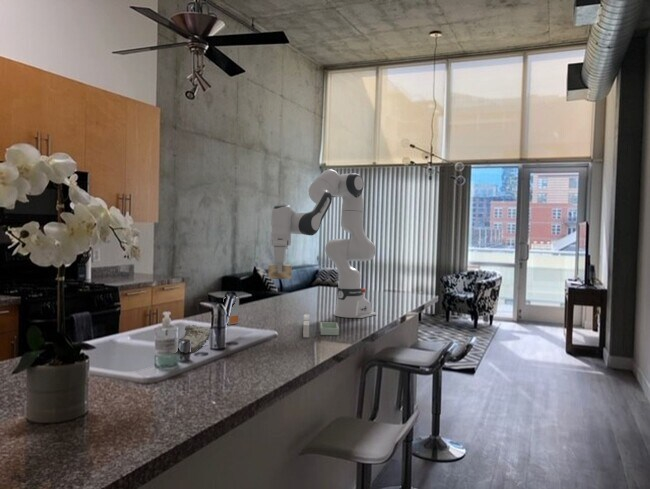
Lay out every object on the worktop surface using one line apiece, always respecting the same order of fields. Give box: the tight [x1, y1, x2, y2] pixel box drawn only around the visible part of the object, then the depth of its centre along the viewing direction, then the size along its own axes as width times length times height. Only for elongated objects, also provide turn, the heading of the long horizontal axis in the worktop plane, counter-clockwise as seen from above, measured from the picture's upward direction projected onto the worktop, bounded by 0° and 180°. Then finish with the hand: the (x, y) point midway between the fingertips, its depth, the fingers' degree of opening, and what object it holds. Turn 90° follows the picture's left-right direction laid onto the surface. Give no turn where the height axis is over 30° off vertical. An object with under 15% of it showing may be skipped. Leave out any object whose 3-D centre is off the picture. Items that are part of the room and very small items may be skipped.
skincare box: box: [223, 296, 240, 326], centre depth 236 cm, size 6×4×12 cm
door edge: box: [302, 313, 310, 338], centre depth 224 cm, size 26×2×5 cm, turn 2°
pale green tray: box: [319, 321, 340, 336], centre depth 223 cm, size 14×8×3 cm, turn 2°
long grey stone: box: [181, 324, 211, 354], centre depth 197 cm, size 35×5×10 cm
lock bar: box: [267, 264, 293, 280], centre depth 229 cm, size 10×4×6 cm, turn 92°
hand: (280, 272), depth 229 cm, fingers closed on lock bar, 4 cm apart
